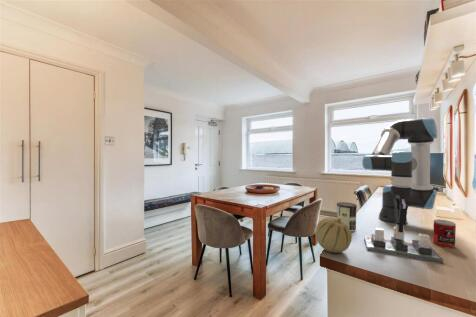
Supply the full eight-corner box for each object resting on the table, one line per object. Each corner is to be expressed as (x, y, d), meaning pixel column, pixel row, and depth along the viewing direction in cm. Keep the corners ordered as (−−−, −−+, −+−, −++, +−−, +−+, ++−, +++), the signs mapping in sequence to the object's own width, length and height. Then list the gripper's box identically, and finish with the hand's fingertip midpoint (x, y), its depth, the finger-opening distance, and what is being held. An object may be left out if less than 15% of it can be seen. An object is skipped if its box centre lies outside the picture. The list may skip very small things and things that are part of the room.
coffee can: (352, 226, 130) (353, 202, 130) (358, 232, 120) (359, 206, 120) (334, 224, 132) (334, 201, 132) (338, 230, 122) (339, 205, 122)
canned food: (438, 246, 102) (438, 223, 102) (429, 240, 110) (430, 218, 109) (459, 249, 99) (459, 225, 99) (449, 242, 107) (449, 220, 107)
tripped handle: (393, 236, 102) (393, 226, 102) (401, 237, 101) (401, 227, 101) (394, 238, 100) (394, 228, 100) (402, 239, 99) (402, 229, 99)
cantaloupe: (317, 241, 106) (317, 211, 106) (351, 248, 99) (352, 215, 99) (312, 253, 93) (313, 219, 93) (351, 262, 86) (352, 224, 86)
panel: (364, 239, 110) (364, 221, 110) (430, 249, 99) (430, 229, 99) (367, 250, 97) (367, 230, 97) (443, 263, 86) (444, 240, 86)
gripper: (388, 183, 105) (386, 232, 105) (394, 187, 93) (392, 242, 93) (407, 184, 101) (406, 235, 102) (416, 188, 90) (414, 245, 90)
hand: (399, 238), depth 98 cm, fingers closed
